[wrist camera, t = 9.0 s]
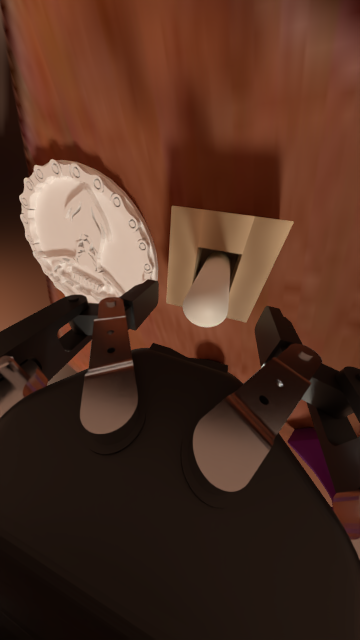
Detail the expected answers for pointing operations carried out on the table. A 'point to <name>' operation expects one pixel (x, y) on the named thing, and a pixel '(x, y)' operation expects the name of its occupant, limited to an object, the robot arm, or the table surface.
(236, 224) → the bore block
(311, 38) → the table surface
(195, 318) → the cream pin
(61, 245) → the medallion
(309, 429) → the perfume bottle
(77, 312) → the robot arm
